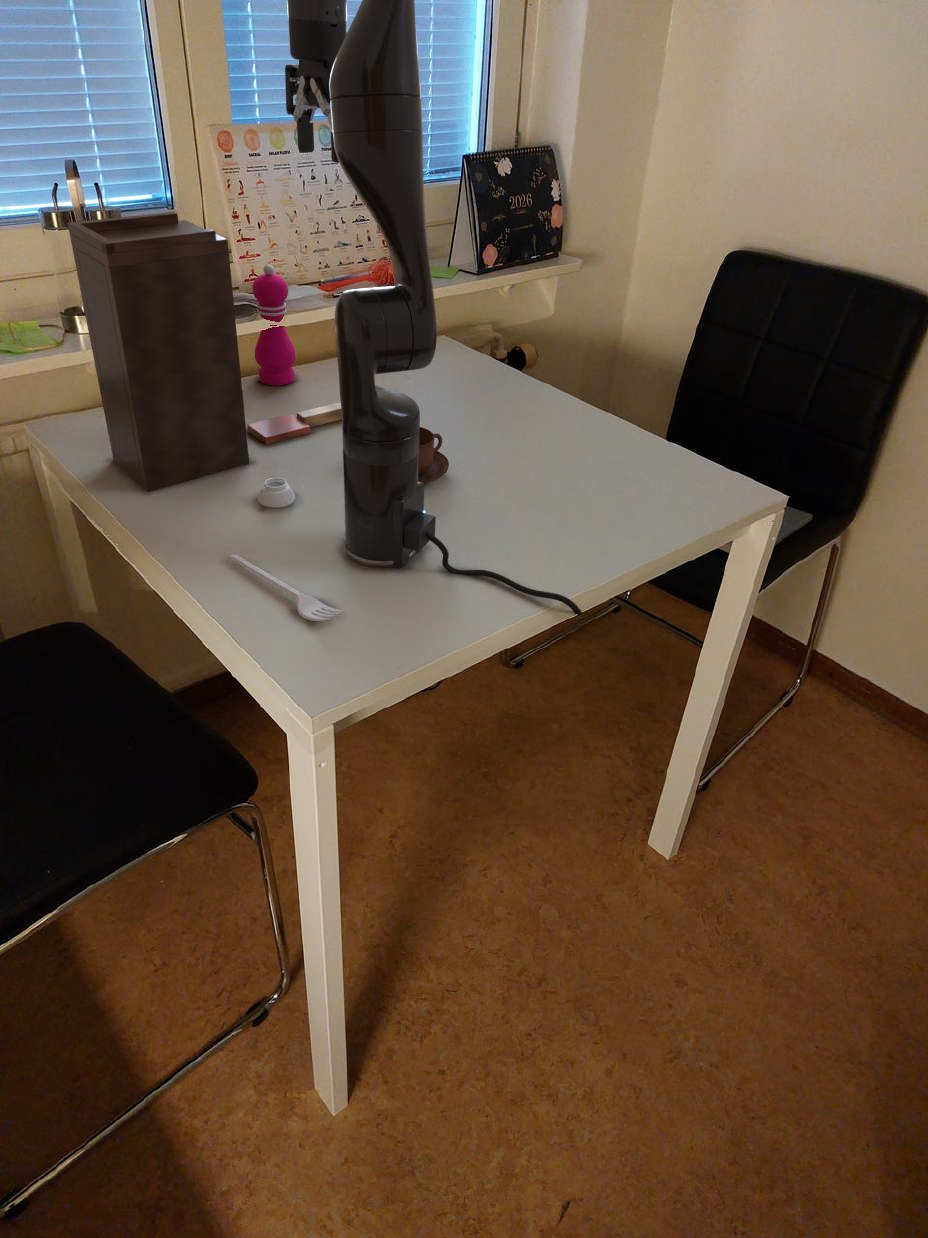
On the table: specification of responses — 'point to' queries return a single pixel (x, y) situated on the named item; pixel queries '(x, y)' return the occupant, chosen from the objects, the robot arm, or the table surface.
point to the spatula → (294, 423)
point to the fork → (293, 594)
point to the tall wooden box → (163, 345)
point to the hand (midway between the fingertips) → (322, 156)
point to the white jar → (276, 493)
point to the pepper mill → (273, 330)
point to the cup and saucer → (430, 457)
